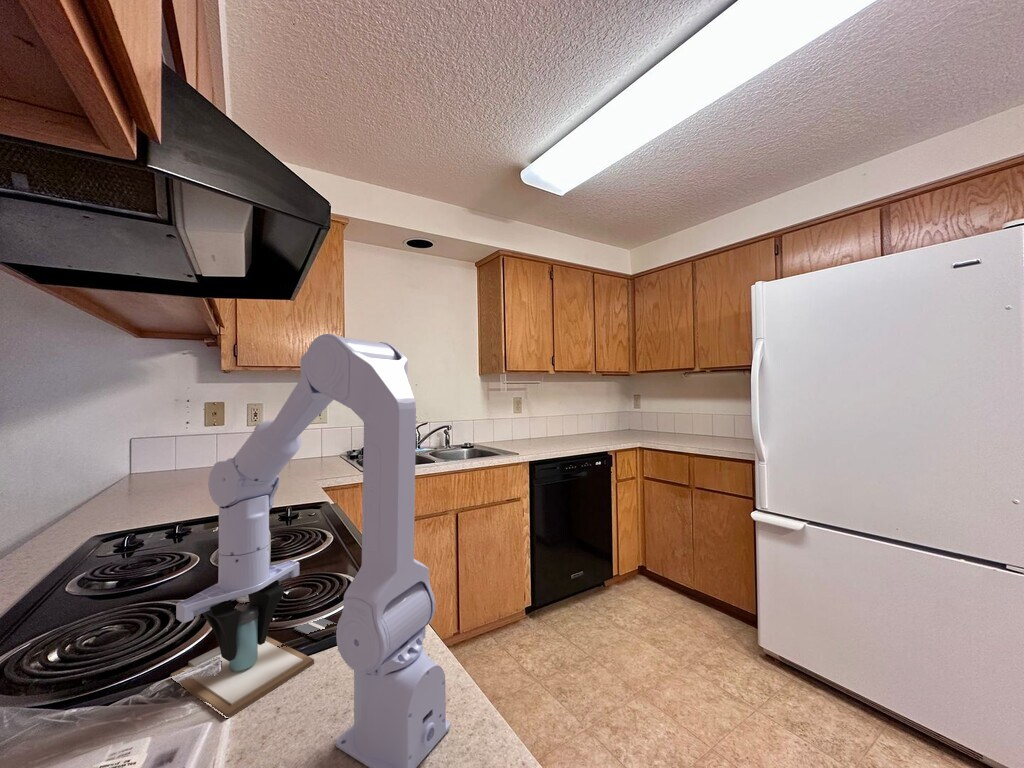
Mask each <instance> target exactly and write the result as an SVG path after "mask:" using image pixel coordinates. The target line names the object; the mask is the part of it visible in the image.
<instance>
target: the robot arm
mask: <svg viewBox="0 0 1024 768" xmlns="http://www.w3.org/2000/svg"><path fill="white" fill-rule="evenodd" d="M306 350H307V351H306V352H305V353H304V354H303V355H302V356H301V358H300V364H299V365H300V366H299V368H300V379H299V380H298V382H297V384H296V385H295V387H294V388H293V390H292V392H291V393H290V394H289V396H288V397H287V399H286V401H285V402H284V404H283V405H282V407H281V409H280V410H279V412H278V414H277V415H276V417H275V419H269V420H264V421H262V422H259V423H257V424H256V426H255V427H254V429H253V432H251V434H250V436H249V437H248V438H247V439H246V441H245V442H244V443H243V445H242V446H240V447H241V448H239V450H238V451H237V452H236V454H235V455H234V456H233V457H229V458H227V459H226V460H220V461H217V462H215V463H214V464H213V466H212V468H211V470H210V472H209V476H208V480H207V481H208V484H207V485H208V491H209V495H210V498H211V500H212V501H213V502H214V504H215V505H217V506H218V576H217V577H218V578H217V579H218V581H217V583H215V584H213V585H211V586H210V587H207V588H205V589H203V590H202V591H200V592H198V593H196V594H194V595H193V596H191V597H189V598H186V599H184V600H181V601H178V602H176V607H175V608H176V611H175V612H176V614H175V616H176V617H175V619H176V620H178V621H179V622H181V623H182V624H185V623H188V622H190V621H193V620H194V617H197V616H198V615H199V616H200V615H201V614H202V615H203V617H204V618H205V620H206V621H207V623H208V624H209V626H210V627H211V630H212V631H213V633H214V635H215V638H216V642H217V643H218V647H220V651H221V656H222V658H224V659H226V660H228V661H231V660H233V659H235V657H236V633H237V626H238V621H239V617H240V613H241V611H240V610H237V609H235V608H236V607H235V604H234V603H233V602H232V601H235V600H236V599H238V598H240V597H243V596H245V595H248V596H249V602H250V603H249V604H257V605H258V606H259V615H258V644H259V645H262V644H264V643H265V640H266V636H268V631H269V627H270V624H271V622H272V619H273V615H274V613H275V612H276V609H277V606H278V605H279V603H280V602H281V600H282V598H283V596H284V595H285V594H284V593H285V587H284V586H283V585H281V584H280V582H281V581H284V580H286V579H289V578H296V577H298V576H300V562H299V561H296V560H292V559H291V560H287V561H285V562H282V563H278V564H272V565H271V566H269V531H270V510H271V509H273V506H274V497H275V495H276V493H277V490H278V489H279V485H280V476H278V475H279V474H280V473H281V472H282V470H284V468H285V467H286V466H287V465H288V463H290V461H291V460H292V458H293V457H295V455H296V454H297V453H298V451H299V450H300V449H301V447H302V445H301V444H302V438H301V436H300V435H301V434H302V433H303V432H304V430H306V429H307V428H308V426H309V425H311V424H312V422H313V421H314V420H315V419H317V417H318V416H320V414H321V413H322V412H323V411H324V410H325V409H326V408H327V407H328V406H329V405H330V404H331V403H332V402H333V401H336V402H338V403H339V404H342V405H343V406H345V407H347V408H349V409H350V410H351V411H353V412H354V414H355V415H357V417H358V418H359V419H360V420H361V421H362V422H363V459H362V461H363V463H362V467H363V468H362V470H363V471H362V513H361V514H362V523H361V524H362V527H361V566H360V568H359V570H358V572H357V573H356V575H355V577H354V578H353V580H352V581H351V582H350V584H349V585H348V587H347V588H346V591H345V592H344V593H343V594H344V595H343V607H342V611H341V614H340V616H339V619H338V621H337V623H336V624H337V630H336V632H335V635H336V636H335V637H336V646H337V650H338V653H339V655H340V656H341V658H342V660H343V661H344V662H345V664H347V666H348V667H349V668H351V669H352V670H353V724H352V725H351V726H350V727H349V728H348V729H347V730H346V731H344V732H343V733H342V734H341V735H340V736H338V737H337V738H336V739H335V740H334V741H335V745H334V746H335V748H338V749H339V750H341V751H342V752H344V753H345V754H347V755H349V756H350V757H352V758H353V759H355V760H356V761H358V762H360V763H362V764H363V765H364V766H366V767H368V768H417V767H418V766H419V765H420V764H421V762H422V761H423V760H424V759H425V758H426V756H427V755H428V754H429V753H430V752H431V751H432V750H433V749H434V748H435V746H436V745H437V744H438V743H439V741H441V740H442V738H443V737H444V736H445V734H446V733H447V732H448V731H449V730H450V729H451V722H450V721H449V720H447V718H446V716H447V715H446V711H447V709H446V707H447V705H446V699H447V698H446V695H447V694H446V674H445V671H444V668H443V667H442V666H440V665H439V664H438V663H436V662H435V661H434V660H433V659H432V658H430V657H429V655H428V654H427V652H426V650H425V648H424V646H423V643H424V640H425V639H426V627H427V626H428V625H429V624H430V623H431V622H432V620H433V619H434V616H435V614H436V613H435V612H436V609H437V608H436V607H437V606H436V599H435V598H436V597H435V594H434V592H433V590H432V585H431V583H430V569H429V567H428V566H426V565H425V564H424V563H422V562H421V561H419V560H417V559H415V511H416V510H415V507H416V506H415V505H416V504H415V503H416V501H415V500H416V499H415V498H416V445H417V443H416V440H417V439H416V436H417V435H416V434H417V433H416V432H417V431H416V430H417V426H416V425H417V403H416V399H415V396H414V393H413V391H412V390H413V389H412V387H411V385H410V382H409V380H408V361H409V360H408V357H406V356H405V355H404V354H403V353H402V352H401V351H399V350H398V348H396V347H395V346H394V345H392V344H391V343H388V342H383V341H381V342H376V341H369V340H361V339H356V338H349V337H343V336H338V335H336V334H333V333H323V334H321V335H320V334H319V336H317V337H316V338H314V339H313V340H312V342H311V343H310V345H309V346H308V348H307V349H306Z"/></svg>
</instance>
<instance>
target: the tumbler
mask: <svg viewBox="0 0 1024 768" xmlns="http://www.w3.org/2000/svg"><path fill="white" fill-rule="evenodd" d="M234 608H235V609H237V610H240V611H241V613H240V617H239V621H238V626H237V633H236V657H235V659H233V660H231V661H229V669H230V670H232V671H240V670H244V669H246V668H249V667H251V666H252V665H254V664H255V663H256V662H257V660H258V615H259V606H258V605H257V604H250V603H247V604H243V605H242V604H241V605H239V606H237V607H234Z"/></svg>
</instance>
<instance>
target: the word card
mask: <svg viewBox="0 0 1024 768" xmlns="http://www.w3.org/2000/svg"><path fill="white" fill-rule="evenodd" d="M321 618H322V619H319V620H317V621H313V622H310V623H307V624H305V625H301V624H299V625H297V626H296V627H294V629H293V631H294V630H296V631H298V632H301V633H305V634H309V633H310V632H314V631H317V630H319V629H320V630H322V629H325V627H326V626H327V624H328V625H330V624H333V623H334V624H337V623H335V622H333V621H331V620H328V619H325V618H323V617H321ZM296 631H295V632H296ZM298 632H297V633H298Z"/></svg>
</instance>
